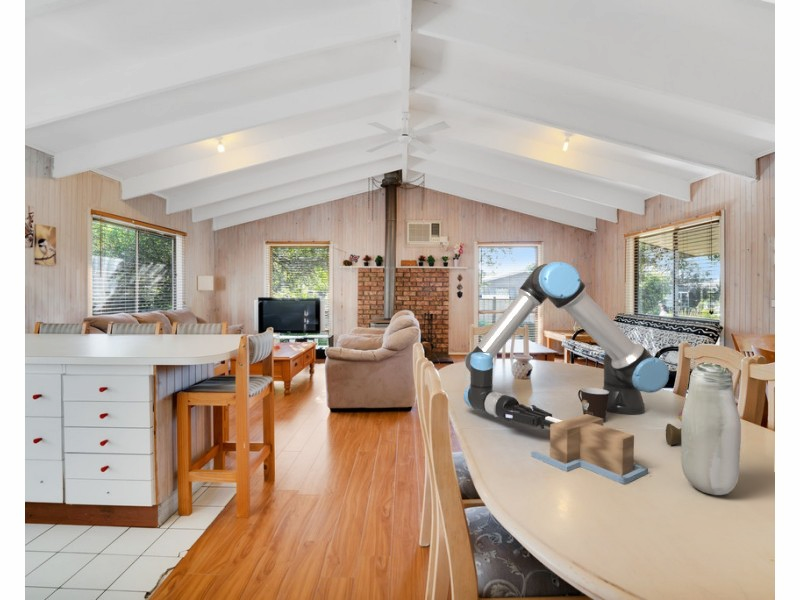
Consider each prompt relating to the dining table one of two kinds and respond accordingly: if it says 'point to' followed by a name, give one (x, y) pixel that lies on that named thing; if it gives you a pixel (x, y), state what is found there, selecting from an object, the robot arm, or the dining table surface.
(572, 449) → the t block
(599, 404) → the coffee mug
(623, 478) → the t outline
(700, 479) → the glass bottle
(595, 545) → the dining table surface
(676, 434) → the kendama
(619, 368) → the robot arm
